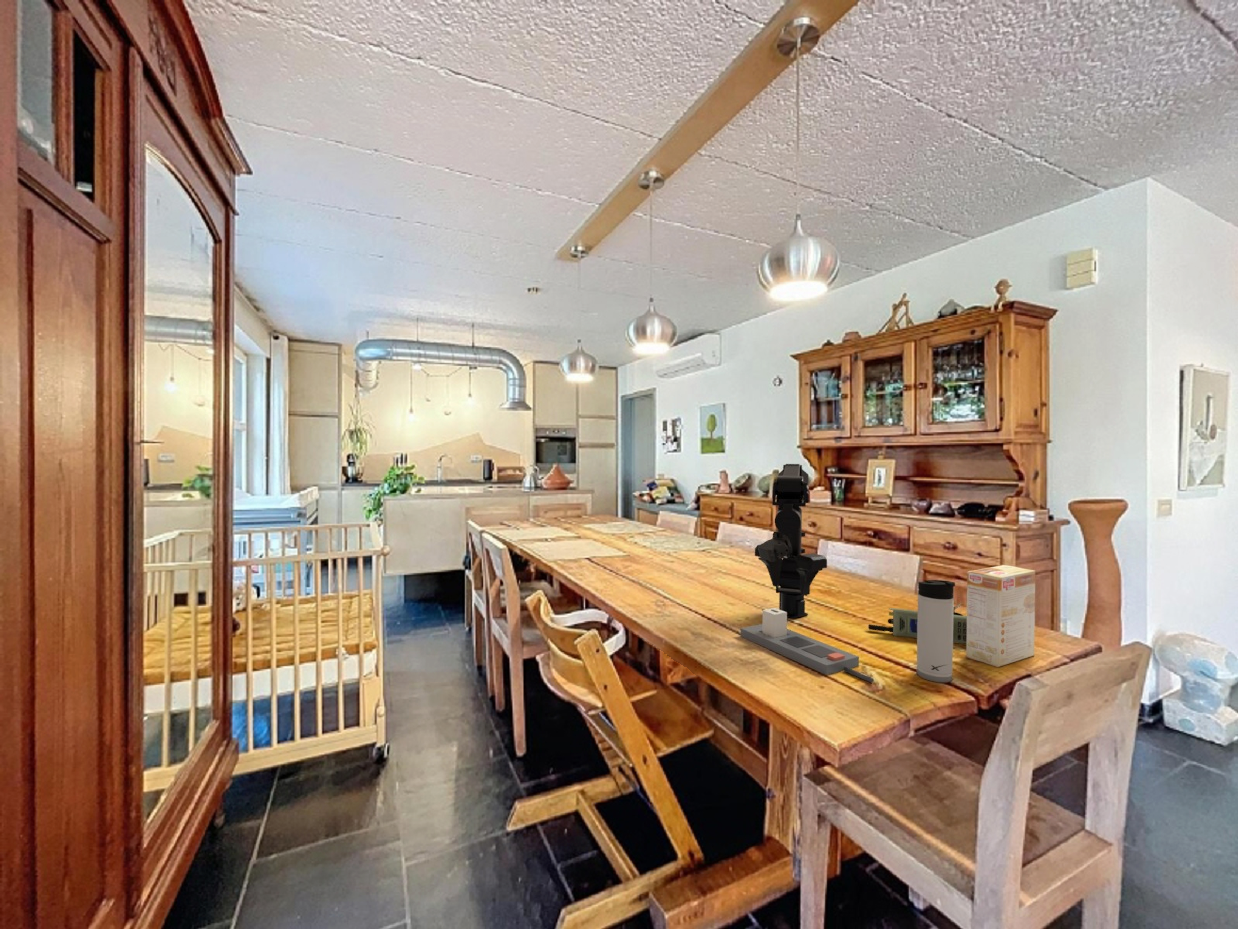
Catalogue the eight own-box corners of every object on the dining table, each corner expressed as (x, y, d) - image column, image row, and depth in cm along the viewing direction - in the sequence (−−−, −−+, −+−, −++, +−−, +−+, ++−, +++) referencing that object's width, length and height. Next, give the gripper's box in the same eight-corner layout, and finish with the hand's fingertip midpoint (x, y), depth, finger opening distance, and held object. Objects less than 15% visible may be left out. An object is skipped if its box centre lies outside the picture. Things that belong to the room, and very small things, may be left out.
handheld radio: (985, 648, 124) (868, 633, 134) (982, 644, 127) (868, 630, 137) (986, 620, 124) (868, 607, 134) (982, 616, 127) (868, 604, 137)
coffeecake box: (1001, 645, 125) (1002, 564, 125) (1036, 656, 119) (1037, 570, 118) (963, 656, 118) (965, 570, 118) (998, 668, 112) (1000, 577, 112)
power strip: (740, 636, 131) (740, 625, 131) (770, 630, 136) (770, 620, 136) (856, 688, 102) (856, 675, 102) (889, 678, 107) (889, 665, 107)
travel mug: (942, 686, 103) (943, 584, 103) (910, 673, 109) (911, 577, 108) (960, 680, 106) (962, 581, 105) (928, 668, 112) (930, 574, 111)
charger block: (762, 638, 128) (762, 609, 128) (774, 636, 130) (774, 607, 130) (774, 644, 125) (774, 614, 125) (786, 641, 127) (787, 611, 127)
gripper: (738, 525, 134) (738, 585, 134) (794, 536, 117) (793, 605, 118) (771, 522, 139) (770, 580, 140) (829, 532, 122) (828, 598, 123)
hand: (788, 590), depth 130 cm, fingers open, 9 cm apart
